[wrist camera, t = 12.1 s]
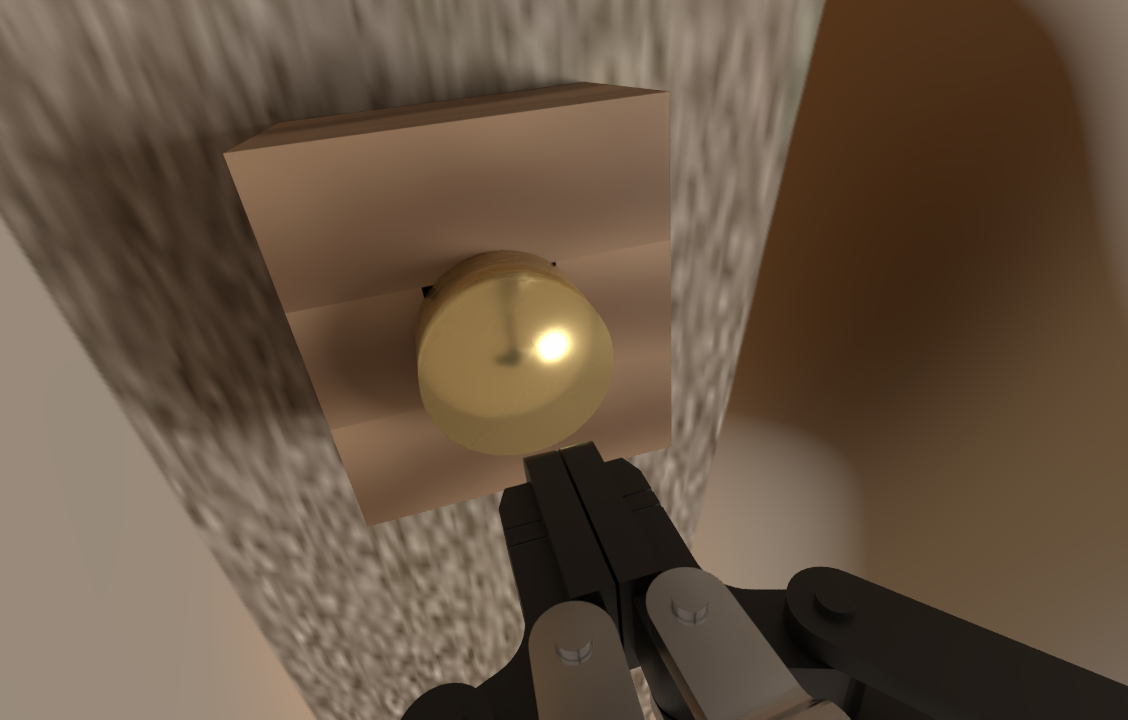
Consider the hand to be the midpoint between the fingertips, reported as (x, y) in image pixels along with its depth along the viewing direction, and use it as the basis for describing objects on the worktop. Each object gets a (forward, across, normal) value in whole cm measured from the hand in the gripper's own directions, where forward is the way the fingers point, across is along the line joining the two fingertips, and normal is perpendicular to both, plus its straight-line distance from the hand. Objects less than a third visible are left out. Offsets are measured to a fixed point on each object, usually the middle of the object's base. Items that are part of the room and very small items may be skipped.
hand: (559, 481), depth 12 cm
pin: (+14, 0, 0) cm, 14 cm away
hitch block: (+15, 0, 0) cm, 15 cm away
